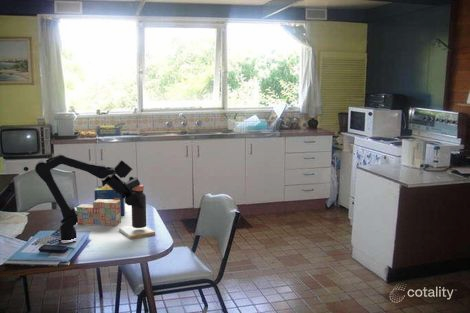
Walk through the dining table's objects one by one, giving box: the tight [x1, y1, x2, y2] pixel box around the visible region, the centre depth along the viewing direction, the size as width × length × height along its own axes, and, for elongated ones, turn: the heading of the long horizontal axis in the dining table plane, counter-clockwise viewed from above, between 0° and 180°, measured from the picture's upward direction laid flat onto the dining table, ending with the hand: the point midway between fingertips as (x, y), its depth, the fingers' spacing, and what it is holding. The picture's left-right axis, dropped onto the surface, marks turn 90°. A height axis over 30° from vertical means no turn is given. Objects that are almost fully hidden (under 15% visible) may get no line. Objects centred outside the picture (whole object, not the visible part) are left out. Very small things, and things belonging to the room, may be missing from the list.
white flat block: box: [118, 224, 156, 240], centre depth 222 cm, size 12×16×2 cm
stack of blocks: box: [75, 199, 122, 227], centre depth 237 cm, size 21×6×12 cm, turn 82°
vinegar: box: [131, 184, 147, 228], centre depth 220 cm, size 7×7×20 cm
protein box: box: [93, 185, 126, 217], centre depth 253 cm, size 10×15×16 cm
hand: (141, 206), depth 220 cm, fingers closed on vinegar, 7 cm apart
